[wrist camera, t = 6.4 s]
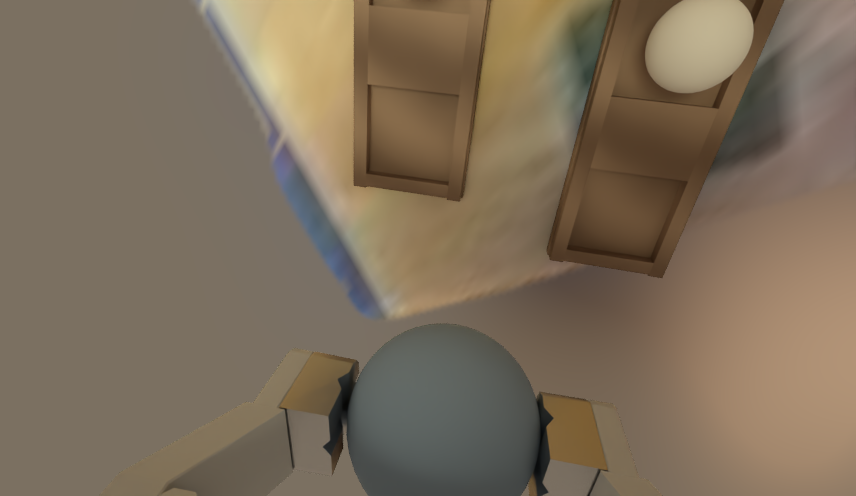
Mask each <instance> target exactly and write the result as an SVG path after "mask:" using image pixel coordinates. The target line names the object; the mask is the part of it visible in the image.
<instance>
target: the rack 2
mask: <svg viewBox="0 0 856 496" xmlns="http://www.w3.org/2000/svg"><path fill="white" fill-rule="evenodd" d="M681 1H683V0H613V2H612V6H611V10H610V14H609V17H608V21H607V25H606V29H605V32H604V36H603V40H602V44H601V47H600V51H599V55H598V59H597V63H596V66H595V70H594V74H593V78H592V81H591V85H590V89H589V93H588V96H587V100H586V104H585V108H584V111H583V115H582V119H581V123H580V127H579V130H578V134H577V138H576V142H575V145H574V149H573V153H572V157H571V160H570V164H569V168H568V172H567V176H566V179H565V183H564V187H563V191H562V194H561V198H560V202H559V206H558V209H557V213H556V217H555V221H554V225H553V228H552V232H551V236H550V240H549V243H548V247H547V255H549V257H550V260H553V261H560V262H563V261H568V262H575V263H581V264H587V265H593V266H599V267H605V268H612V269H618V270H625V271H630V272H636V273H643V274H648V276H653V277H658V278H662V277H663V275H664V273H665V270H666V268H667V266H668V263H669V261H670V259H671V257H672V255H673V252H674V250H675V248H676V245H677V243H678V241H679V239H680V236H681V234H682V232H683V230H684V227H685V225H686V223H687V220H688V218H689V216H690V214H691V211H692V209H693V207H694V205H695V202H696V200H697V198H698V195H699V193H700V191H701V189H702V186H703V184H704V182H705V180H706V177H707V175H708V173H709V170H710V168H711V166H712V164H713V161H714V159H715V157H716V154H717V152H718V150H719V148H720V145H721V143H722V141H723V139H724V136H725V134H726V132H727V129H728V127H729V125H730V123H731V120H732V118H733V116H734V114H735V111H736V109H737V107H738V104H739V102H740V100H741V98H742V95H743V93H744V91H745V89H746V86H747V84H748V82H749V79H750V77H751V75H752V73H753V70H754V68H755V66H756V64H757V61H758V59H759V57H760V54H761V52H762V50H763V48H764V45H765V43H766V41H767V39H768V36H769V34H770V32H771V29H772V27H773V25H774V23H775V20H776V18H777V16H778V14H779V11H780V9H781V7H782V4H783V2H784V0H740V1H741V2H742V3H743V4H744V5H745V6H746V8H747V9H748V11H749V12H750V14H751V17H752V20H753V28H754V32H753V39H752V44H751V47H750V49H749V52H748V54H747V56H746V57H745V59H744V61H743V62H742V63H741V65H740V66H739V67H738V68H737V70H736V71H735V72H734V73H733V74H731V75H730V76H729V77H728V78H727V79H725V80H724V81H722V82H721V83H719V84H717V85H716V86H714V87H711V88H709V89H707V90H703V91H700V92H695V93H676V92H672V91H669V90H666V89H664V88H662V87H661V86H659V85H658V84H657V83H656V82H655V81H654V80H653V79H652V77H651V76H650V74H649V72H648V70H647V67H646V63H645V49H646V44H647V40H648V38H649V35H650V33H651V31H652V29H653V28H654V26H655V24H656V23H657V22H658V20H659V19H660V18H661V17H662V16H663V15H664V14H665V13H666V12H667V11H668V10H669V9H670V8H672V7H673V6H674V5H676V4H677V3H679V2H681Z"/></svg>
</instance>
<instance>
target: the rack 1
mask: <svg viewBox="0 0 856 496" xmlns="http://www.w3.org/2000/svg"><path fill="white" fill-rule="evenodd" d="M489 7H490V0H354V186H360V187H367V186H370V187H376V188H383V189H390V190H397V191H403V192H410V193H417V194H423V195H430V196H437V197H443V198H447V200H453V201H460V198H462V197H463V192H464V185H465V178H466V171H467V164H468V156H469V149H470V142H471V135H472V128H473V121H474V114H475V107H476V100H477V92H478V85H479V78H480V71H481V64H482V57H483V50H484V43H485V36H486V29H487V21H488V14H489Z"/></svg>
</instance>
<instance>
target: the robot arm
mask: <svg viewBox="0 0 856 496" xmlns="http://www.w3.org/2000/svg"><path fill="white" fill-rule="evenodd" d="M358 374H359V362H358V361H357V360H354V359H349V358H344V357H339V356H335V355H330V354H325V353H320V352H312V351H307V350H303V349H298V348H294V349H292V350H291V351H289V352H288V353H287V355H286V356H285V358H284V359H283V360H282V362H281V363H280V365H279V366H278V368H277V369H276V371H275V372H274V373H273V375H272V376H271V378H270V379H269V381H268V382H267V384H266V385H265V386H264V388H263V389H262V391H261V392H260V393H259V395H258V396H257V398H256V399H255V401H254V402H253V403H249V402H245V403H243V404H242V405H240V406H238V407H236V408H234V409H233V410H231V411H229V412H227V413H226V414H224V415H222V416H220V417H219V418H217V419H215V420H213V421H211V422H209V423H208V424H206V425H204V426H202V427H200V428H199V429H197V430H195V431H193V432H191V433H190V434H188V435H186V436H184V437H182V438H181V439H179V440H177V441H175V442H173V443H172V444H170V445H168V446H167V447H165V448H163V449H161V450H159V451H157V452H156V453H154V454H152V455H150V456H148V457H147V458H145V459H143V460H142V461H139V462H138V463H136V464H134V465H132V466H131V467H129V468H127V469H125V470H124V471H121V472H120V473H119V474H118V475H117V476H116V477H115V478H114V479H113V481H112V482H111V483H110V484H109V485H108V486H107V487H106V488H105V489H104V490H103V492H102V493H101V494H100V495H99V496H266V495H268V494H269V493H270V492H271V491H272V490H273V489H274V488H275V487H276V486H278V485H279V484H280V483H281V482H282V481H283V480H285V479H286V478H287V477H288V476H289V475H290V474H291V473H292V472H293V470H299V471H304V472H310V473H315V474H321V475H327V476H332V475H333V473H334V470H335V468H336V465H337V463H338V460H339V457H340V455H341V453H342V450H343V435H344V434H345V433H347V413H348V407H349V402H350V398H351V395H352V392H353V389H354V386H355V384H356V379H357V377H358ZM536 400H537V405H538V410H539V416H540V430H541V435H540V447H539V453H538V458H537V462H536V465H535V468H534V471H533V474H532V476H531V478H530V480H529V484H528V489H529V496H662V494H661V493H660V492H659V491H658V490H657V489H656V488H655V487H654V486H653V485H652V484H651V482H650V481H649V480H647V479H643V478H640V477H639V474H638V471H637V468H636V465H635V462H634V459H633V457H632V453H631V450H630V447H629V444H628V441H627V438H626V435H625V432H624V429H623V426H622V423H621V420H620V417H619V414H618V412H617V408H616V407H615V406H614V405H613V404H612V403H605V402H599V401H594V400H586V399H581V398H575V397H569V396H563V395H557V394H550V393H545V392H539V394H538V395H537V398H536Z"/></svg>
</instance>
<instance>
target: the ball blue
mask: <svg viewBox="0 0 856 496" xmlns="http://www.w3.org/2000/svg"><path fill="white" fill-rule="evenodd" d="M540 435H541V430H540V416H539V410H538V405H537V400H536V397H535V395H534V392H533V389H532V387H531V384H530V382H529V380H528V378H527V376H526V375H525V373H524V371H523V369H522V368H521V366H520V365H519V364H518V363H517V361H516V360H515V358H514V357H513V356H512V355H511V354H510V353H509V352H508V351H507V350H506V349H505V348H504V347H503V346H502V345H500V344H499V343H497V342H496V341H495V340H493V339H492V338H490V337H488V336H487V335H485V334H483V333H481V332H479V331H477V330H475V329H472V328H468V327H465V326H461V325H456V324H429V325H424V326H420V327H416V328H413V329H410V330H408V331H405V332H403V333H401V334H400V335H398V336H396V337H394V338H393V339H391V340H390V341H388V342H387V343H386V344H385V345H383V346H382V347H381V348H380V349H379V350H378V351H377V352H376V353H375V354H374V355H373V356H372V358H371V359H370V360H369V362H368V363H367V364H366V366H365V367H364V369H363V370H362V372H361V374H360V376H359V378H358V380H357V382H356V384H355V386H354V389H353V392H352V395H351V398H350V402H349V407H348V413H347V441H348V449H349V454H350V457H351V461H352V464H353V467H354V470H355V473H356V475H357V477H358V479H359V481H360V483H361V485H362V487H363V489H364V490H365V491H366V493H367V494H368V496H521V494H522V493H523V491H524V490H525V488H526V486H527V484H528V482H529V480H530V478H531V476H532V474H533V471H534V468H535V465H536V462H537V458H538V453H539V447H540Z"/></svg>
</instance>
